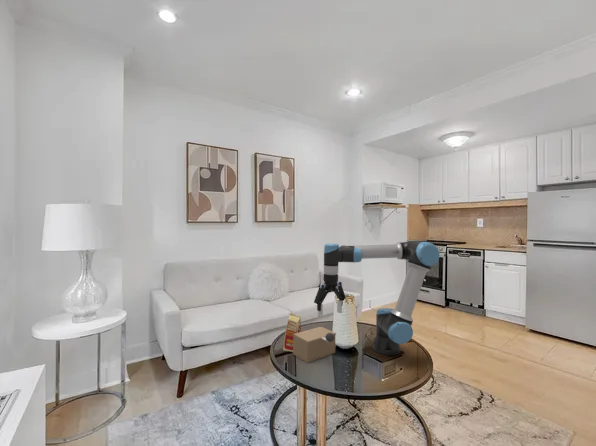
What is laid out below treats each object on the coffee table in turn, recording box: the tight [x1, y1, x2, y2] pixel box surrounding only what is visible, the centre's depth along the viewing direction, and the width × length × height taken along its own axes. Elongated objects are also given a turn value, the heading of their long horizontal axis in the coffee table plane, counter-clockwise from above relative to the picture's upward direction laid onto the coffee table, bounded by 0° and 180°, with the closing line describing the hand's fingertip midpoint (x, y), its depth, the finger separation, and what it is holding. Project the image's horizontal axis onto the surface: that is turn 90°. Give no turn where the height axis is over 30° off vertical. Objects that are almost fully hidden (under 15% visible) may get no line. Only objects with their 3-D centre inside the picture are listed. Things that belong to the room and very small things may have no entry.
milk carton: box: [282, 312, 303, 353], centre depth 166 cm, size 9×9×20 cm
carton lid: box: [293, 326, 337, 343], centre depth 156 cm, size 20×20×5 cm
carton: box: [292, 335, 336, 363], centre depth 159 cm, size 12×20×10 cm, turn 127°
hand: (330, 314), depth 150 cm, fingers open, 13 cm apart
